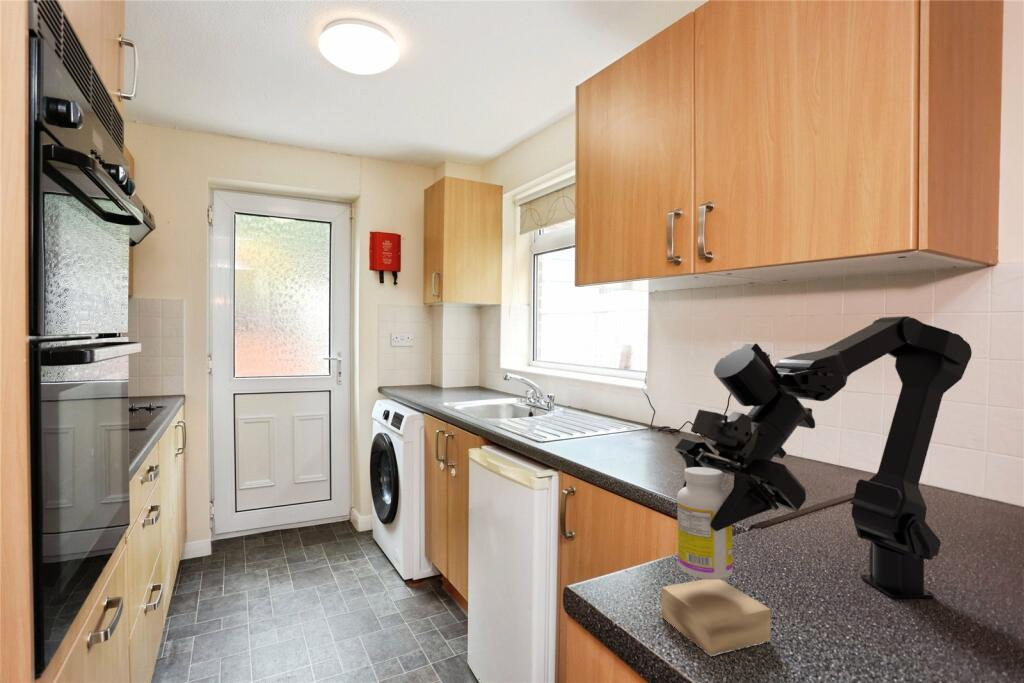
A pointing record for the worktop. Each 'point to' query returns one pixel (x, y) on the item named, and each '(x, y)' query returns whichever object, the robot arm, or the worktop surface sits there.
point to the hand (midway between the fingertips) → (695, 519)
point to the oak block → (715, 615)
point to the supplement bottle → (703, 526)
